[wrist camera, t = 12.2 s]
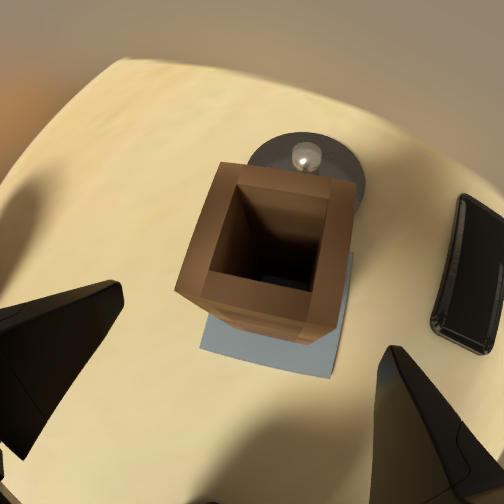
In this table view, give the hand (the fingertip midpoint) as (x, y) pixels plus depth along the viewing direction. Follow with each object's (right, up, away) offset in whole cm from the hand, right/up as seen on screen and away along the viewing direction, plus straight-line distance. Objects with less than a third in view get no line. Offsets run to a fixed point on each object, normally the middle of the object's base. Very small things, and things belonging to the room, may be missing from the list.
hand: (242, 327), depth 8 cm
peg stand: (+5, +9, +17) cm, 20 cm away
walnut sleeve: (+2, -1, +13) cm, 13 cm away
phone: (+22, 0, +12) cm, 25 cm away
